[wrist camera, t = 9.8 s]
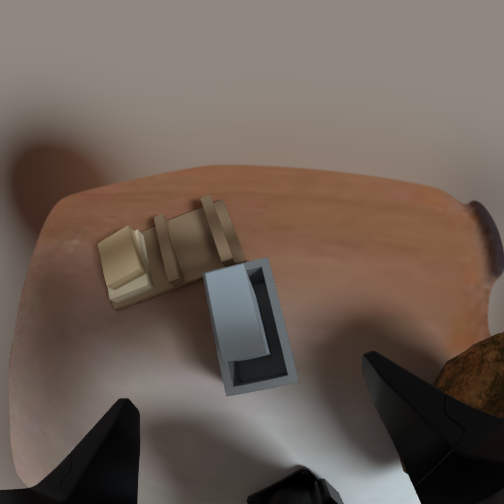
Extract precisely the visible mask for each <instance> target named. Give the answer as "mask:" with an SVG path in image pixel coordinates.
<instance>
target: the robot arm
mask: <svg viewBox="0 0 504 504" xmlns="http://www.w3.org/2000/svg"><path fill="white" fill-rule="evenodd" d="M362 372H363V375H364V378H365V380H366V383H367V386H368V388H369V391H370V394H371V397H372V400H373V402H374V405H375V407H376V409H377V412H378V413H379V415H380V417H381V419H382V421H383V423H384V425H385V427H386V429H387V431H388V433H389V435H390V438H391V440H392V442H393V444H394V446H395V448H396V450H397V452H398V454H399V456H400V458H401V460H402V462H403V465H404V467H405V469H406V471H407V473H408V475H409V477H410V480H411V482H412V484H413V486H414V489H415V491H416V493H417V495H418V498H419V500H420V502H421V504H504V418H500V417H497V416H494V415H491V414H489V413H486V412H484V411H481V410H479V409H476V408H474V407H472V406H469V405H467V404H465V403H463V402H461V401H459V400H457V399H455V398H453V397H452V396H450V395H448V394H446V393H445V394H444V392H443V391H441V390H439V389H438V388H436V387H434V386H433V385H431V384H429V383H427V382H426V381H424V380H422V379H421V378H419V377H417V376H416V375H414V374H412V373H411V372H409V371H407V370H406V369H404V368H402V367H401V366H399V365H397V364H396V363H394V362H392V361H391V360H389V359H387V358H386V357H384V356H382V355H381V354H379V353H377V352H376V351H370V352H367V353H365V354H364V355H363V363H362ZM139 456H140V413H139V411H138V409H137V408H136V407H135V405H134V404H133V403H132V402H131V401H130V400H129V399H128V398H121V399H118V400H117V402H116V403H115V404H114V405H113V406H112V407H111V408H110V409H109V410H108V412H107V413H106V414H105V415H104V416H103V417H102V418H101V419H100V420H99V421H98V423H97V424H96V425H95V426H94V427H93V428H92V429H91V430H90V431H89V433H88V434H87V435H86V436H85V437H84V438H83V439H82V440H81V441H80V443H79V444H78V445H77V446H76V447H75V448H74V449H73V450H72V451H71V453H70V454H69V455H68V456H67V457H66V458H65V459H64V460H63V461H62V462H61V463H60V464H59V465H58V466H57V467H56V468H55V469H54V470H53V471H52V472H51V473H50V474H49V475H47V476H46V477H45V478H44V479H43V480H42V481H41V482H40V483H38V484H37V485H35V486H33V487H31V488H25V489H12V490H0V504H137V498H138V472H139ZM304 471H306V472H307V473H306V474H302V472H304ZM251 499H253V500H255V501H250V500H251ZM247 503H248V504H344V503H343V501H342V499H341V497H340V495H339V493H338V492H337V491H336V490H335V489H334V488H333V487H332V486H331V485H330V484H329V483H328V482H327V481H326V480H325V479H320V480H319V479H318V478H317V477H316V476H315V475H314V474H313V473H312V471H311V470H310V469H308V468H306V467H304V468H301V469H299V470H298V471H296V472H294V473H293V474H291V475H289V476H287V477H286V478H284V479H282V480H280V481H279V482H277V483H275V484H273V485H271V486H269V487H267V488H265V489H263V490H261V491H259V492H257V493H255V494H253V495H251V496H249V497H248V498H247Z"/></svg>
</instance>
